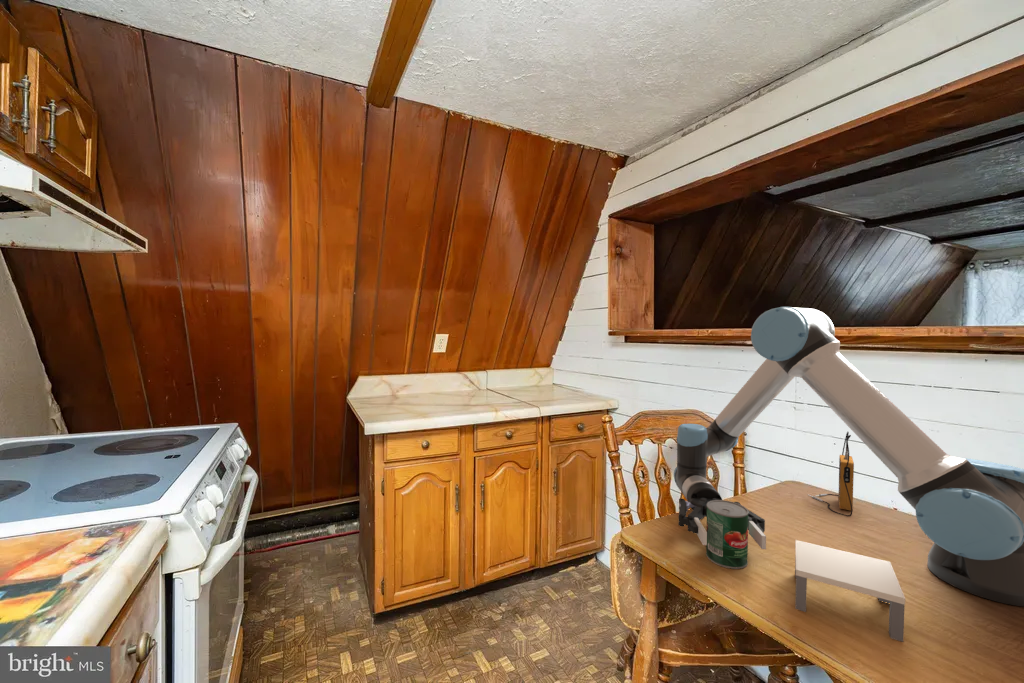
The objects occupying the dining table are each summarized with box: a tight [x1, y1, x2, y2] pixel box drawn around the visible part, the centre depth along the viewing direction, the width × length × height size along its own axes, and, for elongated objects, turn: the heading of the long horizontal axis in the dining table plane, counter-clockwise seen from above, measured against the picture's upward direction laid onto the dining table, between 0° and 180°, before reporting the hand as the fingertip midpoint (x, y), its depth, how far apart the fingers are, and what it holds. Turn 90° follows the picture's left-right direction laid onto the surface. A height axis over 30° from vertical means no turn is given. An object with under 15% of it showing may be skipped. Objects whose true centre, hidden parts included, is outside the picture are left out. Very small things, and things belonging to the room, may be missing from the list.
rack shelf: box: [794, 539, 906, 643], centre depth 74 cm, size 14×12×7 cm
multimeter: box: [806, 431, 855, 517], centre depth 115 cm, size 15×10×20 cm
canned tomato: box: [705, 499, 749, 570], centre depth 88 cm, size 8×8×11 cm
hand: (734, 540), depth 84 cm, fingers open, 10 cm apart
